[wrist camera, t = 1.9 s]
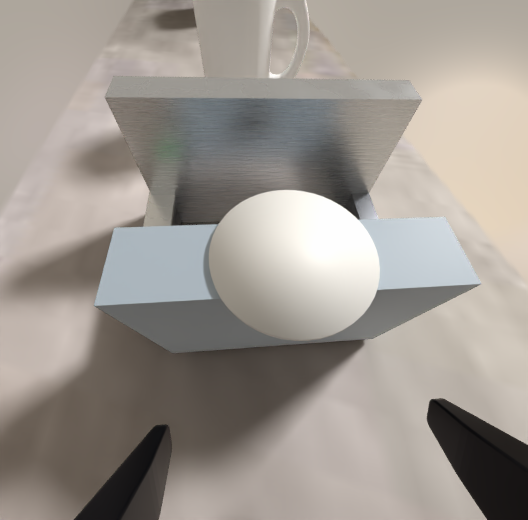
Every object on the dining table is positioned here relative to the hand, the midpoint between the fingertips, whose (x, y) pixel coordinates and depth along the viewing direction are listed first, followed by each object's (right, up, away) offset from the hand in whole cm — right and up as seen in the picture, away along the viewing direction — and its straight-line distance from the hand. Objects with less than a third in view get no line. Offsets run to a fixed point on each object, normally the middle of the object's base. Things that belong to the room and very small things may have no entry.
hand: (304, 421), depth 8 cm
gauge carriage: (-2, +1, +8) cm, 9 cm away
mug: (-3, +22, +21) cm, 30 cm away
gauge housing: (-1, +6, +12) cm, 13 cm away
